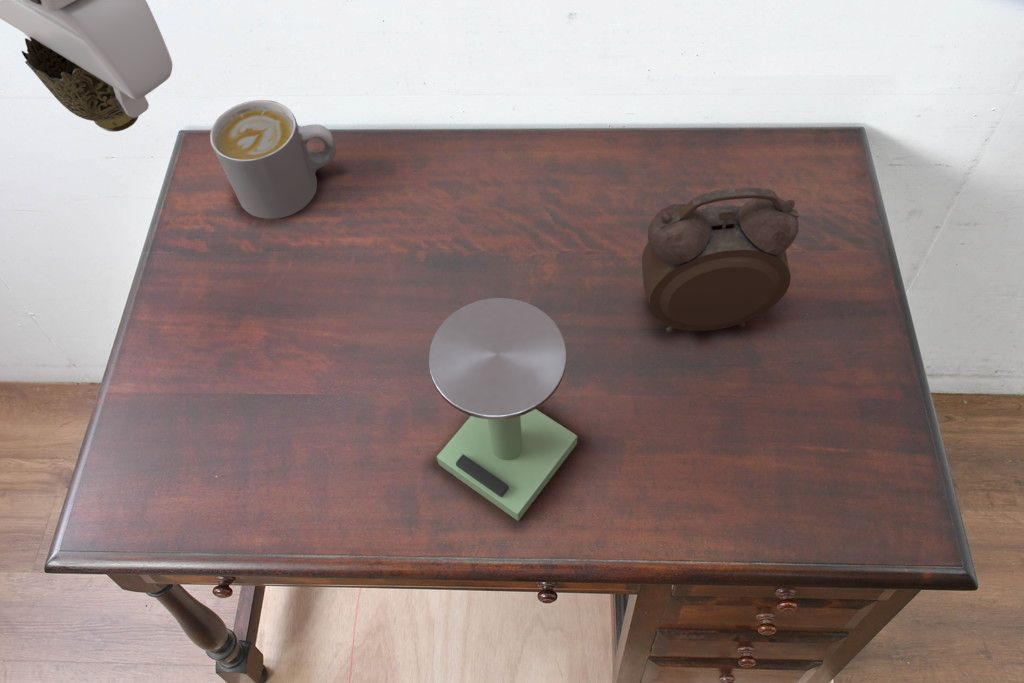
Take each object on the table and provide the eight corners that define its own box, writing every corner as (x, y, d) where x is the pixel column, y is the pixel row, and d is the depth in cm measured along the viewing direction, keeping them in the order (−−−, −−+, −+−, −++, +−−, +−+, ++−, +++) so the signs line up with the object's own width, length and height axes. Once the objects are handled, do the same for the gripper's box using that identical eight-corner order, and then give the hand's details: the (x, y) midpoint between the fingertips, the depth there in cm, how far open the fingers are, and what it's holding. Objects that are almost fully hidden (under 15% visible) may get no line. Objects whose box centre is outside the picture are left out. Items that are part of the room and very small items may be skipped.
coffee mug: (235, 222, 98) (205, 165, 89) (241, 163, 103) (214, 103, 94) (343, 212, 98) (324, 153, 89) (345, 153, 103) (326, 93, 95)
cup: (57, 144, 65) (0, 63, 58) (102, 84, 68) (53, 1, 62) (139, 158, 64) (91, 76, 57) (180, 96, 67) (140, 12, 61)
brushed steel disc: (512, 451, 61) (511, 443, 59) (403, 378, 64) (400, 368, 63) (592, 350, 65) (593, 340, 64) (486, 287, 69) (485, 276, 67)
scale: (518, 521, 77) (511, 447, 62) (438, 464, 80) (413, 381, 65) (577, 444, 81) (583, 357, 66) (498, 393, 84) (487, 299, 69)
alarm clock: (756, 280, 90) (805, 153, 73) (772, 334, 86) (827, 213, 69) (628, 291, 90) (647, 165, 73) (638, 345, 86) (661, 226, 69)
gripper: (-126, -105, 54) (-7, 63, 66) (56, -1, 47) (154, 166, 59) (-45, -146, 57) (57, 23, 68) (140, -53, 50) (218, 117, 61)
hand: (103, 90), depth 63 cm, fingers closed on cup, 7 cm apart
